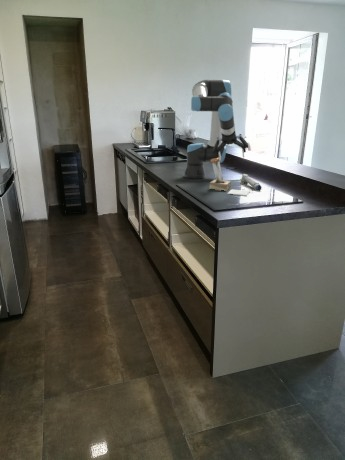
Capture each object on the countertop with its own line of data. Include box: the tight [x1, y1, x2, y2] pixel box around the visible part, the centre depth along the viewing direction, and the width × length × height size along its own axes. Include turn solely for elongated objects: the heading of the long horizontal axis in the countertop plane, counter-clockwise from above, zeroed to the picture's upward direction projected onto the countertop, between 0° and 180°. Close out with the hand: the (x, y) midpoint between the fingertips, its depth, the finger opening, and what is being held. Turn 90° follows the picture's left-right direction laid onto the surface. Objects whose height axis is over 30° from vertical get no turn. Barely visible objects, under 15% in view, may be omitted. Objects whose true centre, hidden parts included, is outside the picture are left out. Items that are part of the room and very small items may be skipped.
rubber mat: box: [227, 188, 251, 197], centre depth 203 cm, size 11×11×1 cm
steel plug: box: [210, 158, 224, 183], centre depth 211 cm, size 5×5×18 cm
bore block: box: [209, 179, 232, 192], centre depth 213 cm, size 11×11×4 cm
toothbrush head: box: [240, 173, 262, 192], centre depth 221 cm, size 5×7×25 cm
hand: (231, 157), depth 207 cm, fingers open, 13 cm apart
